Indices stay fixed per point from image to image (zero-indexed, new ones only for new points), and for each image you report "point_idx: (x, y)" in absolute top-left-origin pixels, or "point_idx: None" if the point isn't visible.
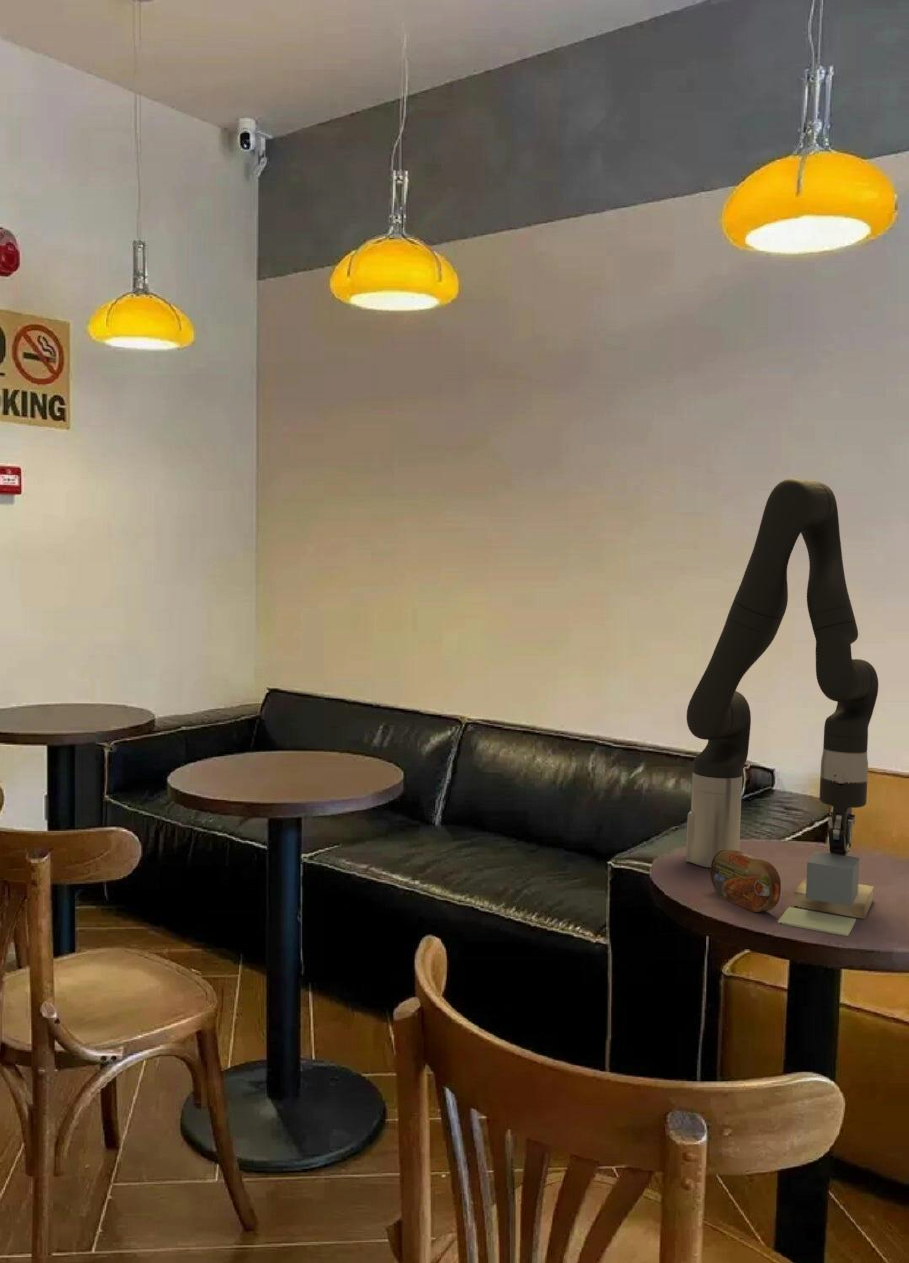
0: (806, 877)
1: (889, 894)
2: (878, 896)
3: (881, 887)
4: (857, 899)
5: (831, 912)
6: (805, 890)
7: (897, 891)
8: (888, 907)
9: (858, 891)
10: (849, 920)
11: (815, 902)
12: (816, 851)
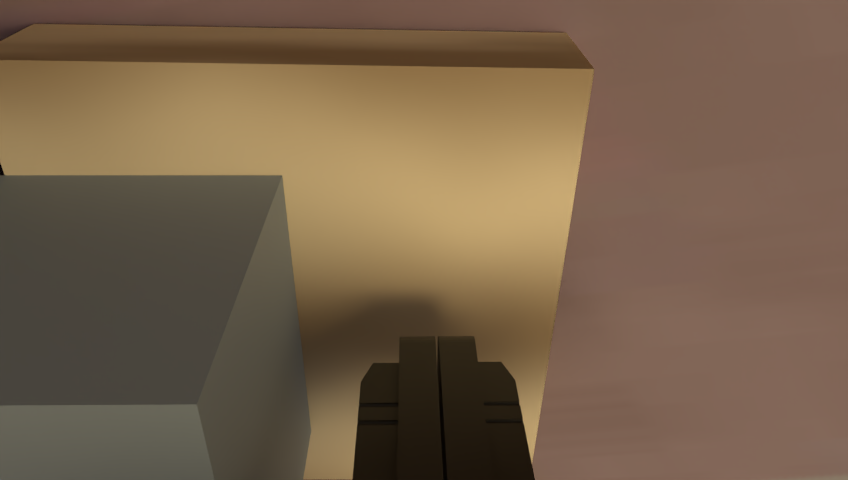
0: (526, 75)
1: (697, 452)
2: (631, 418)
3: (830, 413)
4: None
5: None
6: (88, 137)
7: (774, 473)
8: None
9: (356, 429)
10: None
11: None
12: (192, 415)
